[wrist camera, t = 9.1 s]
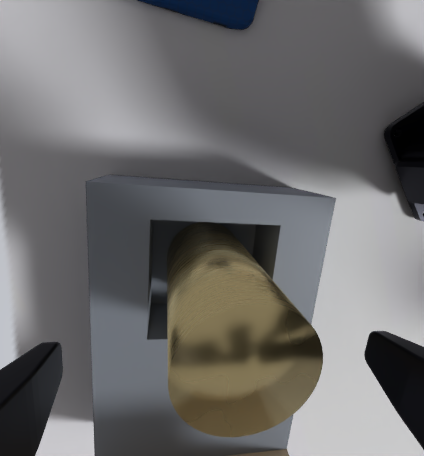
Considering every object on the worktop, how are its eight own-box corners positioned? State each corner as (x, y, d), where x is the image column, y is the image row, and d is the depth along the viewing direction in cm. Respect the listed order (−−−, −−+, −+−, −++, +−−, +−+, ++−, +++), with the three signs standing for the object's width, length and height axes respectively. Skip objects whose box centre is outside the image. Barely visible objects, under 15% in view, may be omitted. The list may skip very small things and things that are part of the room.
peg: (216, 206, 14) (279, 272, 6) (253, 265, 15) (345, 380, 7) (151, 249, 14) (132, 369, 6) (194, 304, 15) (223, 460, 7)
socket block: (98, 174, 13) (-116, 223, 3) (301, 188, 15) (560, 247, 5) (104, 424, 17) (13, 799, 7) (265, 411, 19) (372, 692, 9)
